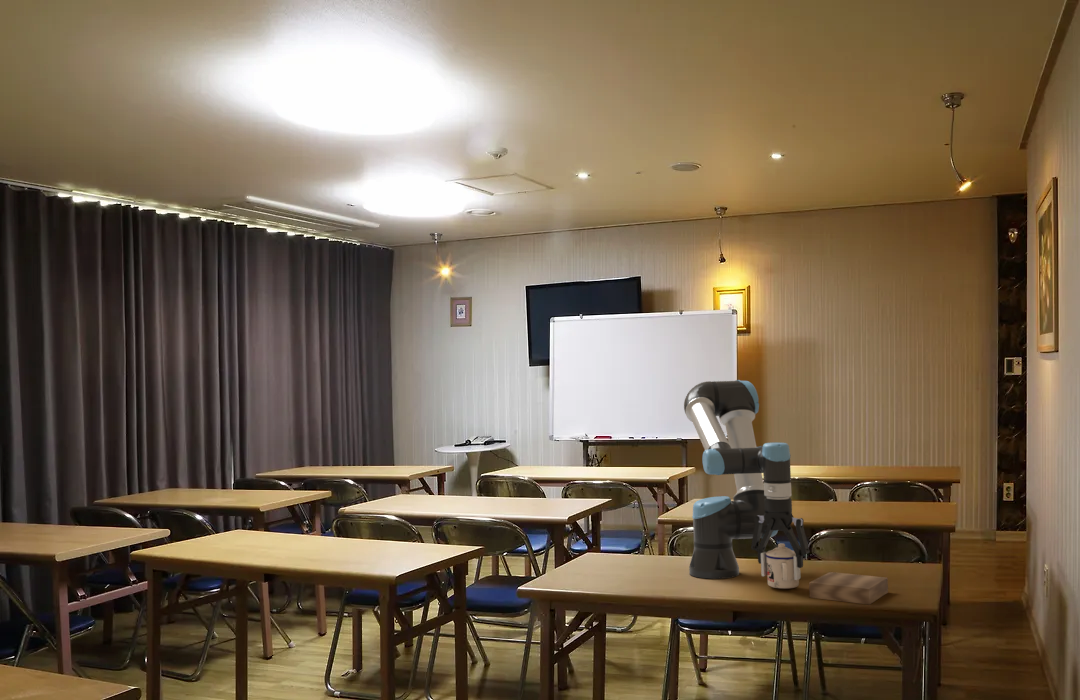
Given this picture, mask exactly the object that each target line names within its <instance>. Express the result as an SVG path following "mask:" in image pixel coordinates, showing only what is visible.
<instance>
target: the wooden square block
mask: <svg viewBox="0 0 1080 700" xmlns="http://www.w3.org/2000/svg"><path fill="white" fill-rule="evenodd" d="M808 583H809V584H808V585H809V587H808V588H809V598H812V599H821V600H829V601H836V602H837V601H838V602H844V603H845V602H846V603H852V604H853V603H854V604H863V605H871V604H872V603H874V602H876V601H877V600H878V599H881V598H882V597H884V596H885V595H887V594H888V593H889V584H888V583H889V582H888V577H886V576H885V577H884V576H883V577H882V576H874V575H867V574H866V575H865V574H854V573H853V574H852V573H847V572H846V573H845V572H844V573H843V572H832V571H829V572H827V573H825V574H823V575H821V576H818V577H817V578H815V579H813V580H811V581H809V582H808Z"/></svg>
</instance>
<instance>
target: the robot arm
mask: <svg viewBox="0 0 1080 700" xmlns="http://www.w3.org/2000/svg"><path fill="white" fill-rule="evenodd" d="M759 407H760V403H759V395H758V391H757V389H756V387H755V386H754V384H753V383H752V382H750V381H748V380H740V379H736V380H720V381H719V380H718V381H715V380H713V381H702V382H699V383H698V384H696V385H694V387H692V388H691V389H689V391H688V392H687V394H686V396H685V397H684V402H683V410H684V413H685V415H686V418H687V419H688V420H689V421H690V422H692V424H693V426H694V429H695V431H696V433H697V436H698V437H699V439H700V442H701V443H702V447H703V449H704V451H703V453H702V458H701V459H702V461H701V462H702V466H703V470H704V472H705V474H707V475H713V476H714V475H716V476H721V475H733V477H734V481H735V487H736V493H735V494H734V495H733V500H732V499H731V497H730V496H727V495H726V496H725V495H722V496H711V497H706V498H702V499H699V500H697V501H695V502H694V503H693V506H692V516H691V517H692V524H693V553H692V556H691V560H690V563H689V567H688V568H689V569H688V571H689V575H690V576H693V577H695V578H699V579H700V578H701V579H712V580H713V579H714V580H715V579H730V578H731V579H732V578H734V577H737V576H739V575H740V566H739V563H738V560H737V557H736V555H735V553H734V550H733V540H739V539H740V540H742V539H743V540H745V539H747V540H748V539H752V541H751V546H750V548H751V550H752V551H756V552H757V561H758V564H759V565H760V568H761V569H760V570H761V572H760V573H761V574H760V575H761V577H765V576H767V558H766V553H767V552H768V551H766V547H767V546H768V543H769V541H770V538H773V537H775V536H776V535H777V534H778V531H780V532H783V533H784V535H785V536H786V537H787V540H788V542H789V543H790V546H791V548H792V551H794V552H795V554H796V556H793V558H794V580H798V579H799V580H800V579H801V569H802V568H803V567H804V556H806V555H807V554H809V553H810V548H809V545H808V540H807V536H806V532H805V528H804V518H803V517H800V518H798V517H794V515H793V501H792V500H793V499H792V498H791V497H792V483H791V482H792V481H791V479H792V475H791V474H792V473H791V451H790V446H789V443H787V442H765V443H763V445H760V446H757V443H756V437H755V433H754V427H753V421H754V420H755V419H756V414H757V413H759ZM717 417H719V420H718V418H717ZM719 421H720V422H719ZM720 423H721V424H720ZM721 425H723V426H725V430H726V431H725V432H726V434H725V432H724V430H723V428H722V426H721ZM726 436H727V437H726ZM792 523H793V524H794V526H795V529H796V533H797V534H796V535H797V537H798V539H797V537H796V535H795V533H794V530H793V528H792V526H791V525H792ZM760 539H761V541H760Z"/></svg>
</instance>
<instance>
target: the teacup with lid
mask: <svg viewBox="0 0 1080 700" xmlns="http://www.w3.org/2000/svg"><path fill="white" fill-rule="evenodd" d="M766 552H767V553H766V558H767V575H766V576H767V585H768V586H769V587H771V588H775V589H794V588H797V587H799V585H800V579H798V580H794V558H793V556H796V554H795V552H794V550H793V549H791V548H788V547H786V544H785V543H778V544H777V547H775V548H773V549H771V550H768V551H766Z"/></svg>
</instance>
